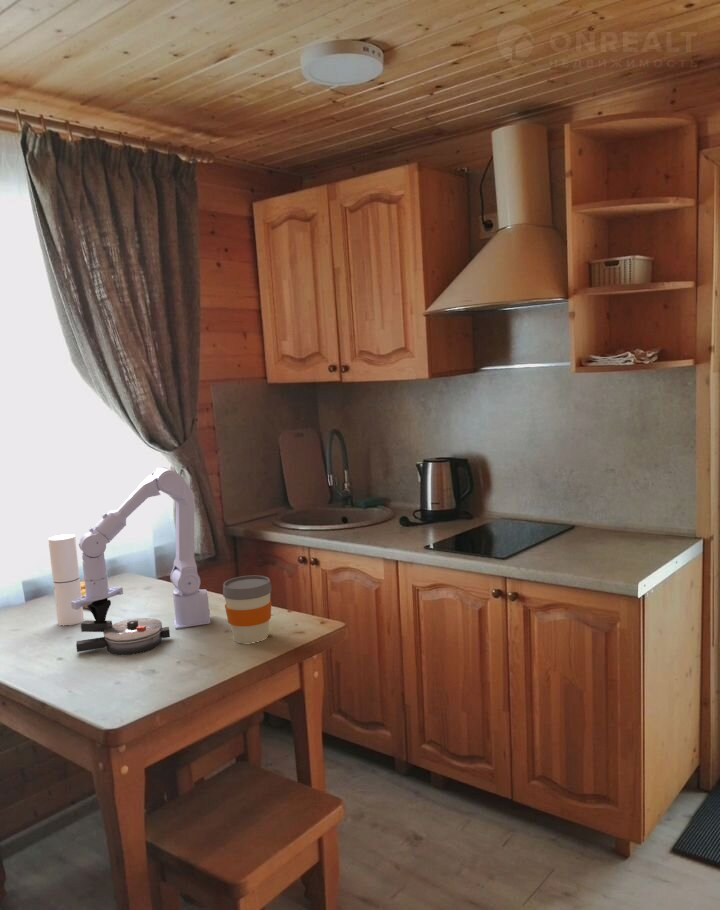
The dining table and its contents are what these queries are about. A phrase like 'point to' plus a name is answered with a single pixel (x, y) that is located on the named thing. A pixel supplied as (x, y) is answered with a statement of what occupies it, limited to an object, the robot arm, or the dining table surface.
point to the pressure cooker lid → (124, 629)
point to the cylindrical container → (65, 578)
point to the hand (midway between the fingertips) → (101, 627)
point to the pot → (124, 644)
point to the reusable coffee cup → (248, 607)
